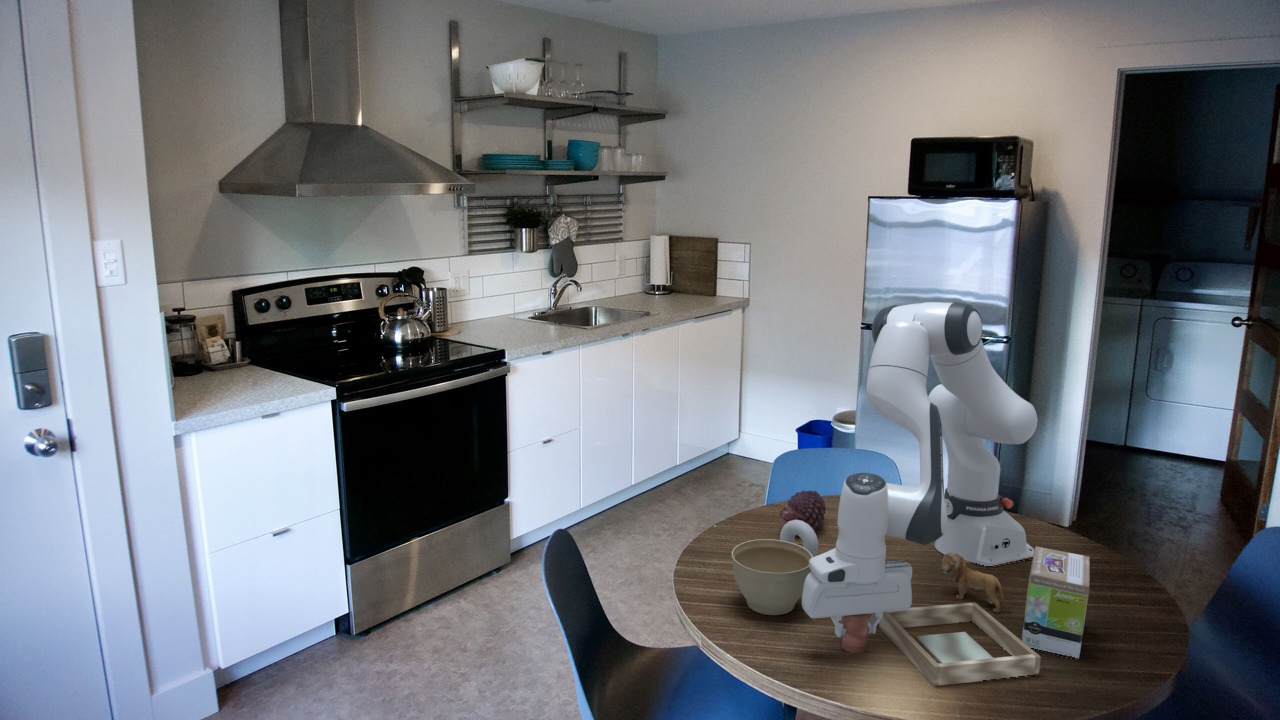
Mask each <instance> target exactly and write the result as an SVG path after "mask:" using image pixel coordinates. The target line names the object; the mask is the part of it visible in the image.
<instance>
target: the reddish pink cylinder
mask: <svg viewBox="0 0 1280 720" xmlns="http://www.w3.org/2000/svg"><path fill="white" fill-rule="evenodd" d="M869 617H870V614H859V615H847V616H843V621H842V624H843V625H844V626H845V627H846V628H847V629H846V636H843V637H841V638H842V640H841V642H842V643H841V648H842V649H843V650H845V651H846V652H848V653H851V654H863V653H865V652H866V651H867V645H868V635H869V634H868V621H869V619H870V618H869Z"/></svg>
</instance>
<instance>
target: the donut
mask: <svg viewBox="0 0 1280 720" xmlns="http://www.w3.org/2000/svg"><path fill="white" fill-rule="evenodd" d="M796 536H799V538H800V539H801V541H802V545H803V546H802V547H804V548H805V549H807V550H808V551H809V552H810V553H811V554H812V556H813V557H815V556H818V552H819V548H820V547H819V539H818V536H817V534H816V532H815V530H813V529H812V528H811V527H810V526H809V525H808V524H807V523H805V522H803V521H801V520H792V521H789V522H785V524H783V527H782V528H781V529H780V534H779V540H781V541H786V542H791V543H794V544H797V543H796V539H795V538H796Z"/></svg>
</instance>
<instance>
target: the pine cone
mask: <svg viewBox="0 0 1280 720" xmlns="http://www.w3.org/2000/svg"><path fill="white" fill-rule="evenodd" d="M826 509H827V506H826V501H825V500H824V498H822V496H821V494H820V493H819V492H818V491H816V490H802V491H801V492H795V494H794V495H791V497H790V499H788V501H787V504H786V503H784V505H783V508H782V510H781V511H779V515H780V517H781V518H782V519H783V520H784V521H785V523H788V522H789V521H792V520H801V521H803V522H805V523H807V524H808V525H809V526H810V527H811V528H812V529H813V530H814V531H815V530H816V528H817V527H820V526H821V525H822V521H824V520H825V514H826Z"/></svg>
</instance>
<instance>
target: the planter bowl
mask: <svg viewBox="0 0 1280 720" xmlns="http://www.w3.org/2000/svg"><path fill="white" fill-rule="evenodd" d="M811 558H813V556H812V554H811V553H810V552H809V551H808V550H807V549H805V548H804V547H803V546H801V545H799V544H797V543H796V544H794V543H791V542H786V541H781V540H780V539H773V538H767V539H766V538H764V539H763V538H762V539H761V538H760V539H759V538H758V539H753V540H748V541H747V540H746V541H744V542H741V543H740V544H737V545H735V546H734V547H733V549H732V551H731V560H732V568H733V569H732V570H733V576H734V580H735V582H736V585H737V587H738V589H739V592H740V593H741V594H742V595H743V597H744V598H745V600H746V603H747V606H748V608H750V609H751V611H753V612H756V613H759V614H761V615H767V616H779V615H780V616H781V615H785V614H789V613H791V611H793V610H794V609H795V606H796V603H797V602H798V601H799V600H800V598H802V594H803V588H804V582H805V579H806V577H807V575H808V574H809V573H810V572H812V571H811V570H810V568H809V560H810V559H811Z"/></svg>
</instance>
